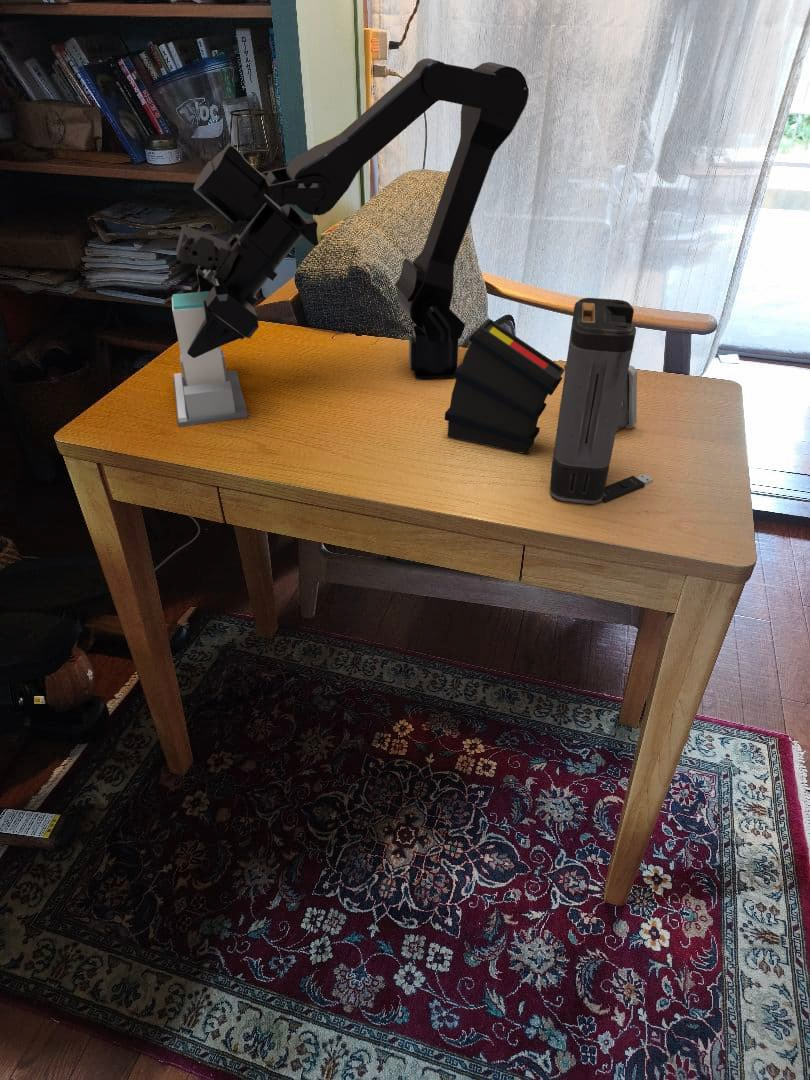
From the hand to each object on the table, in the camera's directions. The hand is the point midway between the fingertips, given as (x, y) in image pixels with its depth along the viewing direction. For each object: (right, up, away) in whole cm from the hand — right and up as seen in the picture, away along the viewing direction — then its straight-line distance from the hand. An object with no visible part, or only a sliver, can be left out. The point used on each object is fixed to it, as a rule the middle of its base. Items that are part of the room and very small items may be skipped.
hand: (188, 341), depth 96 cm
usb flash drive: (+54, -21, -12) cm, 59 cm away
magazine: (+40, -14, -4) cm, 43 cm away
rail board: (+1, -6, +5) cm, 9 cm away
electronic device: (+48, -20, -11) cm, 53 cm away
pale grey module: (+1, -6, +5) cm, 8 cm away
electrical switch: (+54, -11, 0) cm, 55 cm away
